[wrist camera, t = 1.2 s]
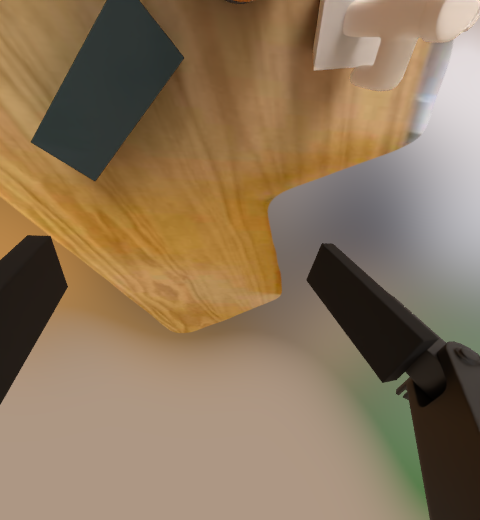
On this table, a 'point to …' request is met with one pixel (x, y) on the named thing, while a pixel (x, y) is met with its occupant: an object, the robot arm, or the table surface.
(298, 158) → the table surface
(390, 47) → the figurine
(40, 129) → the pencil box
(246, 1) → the canister
